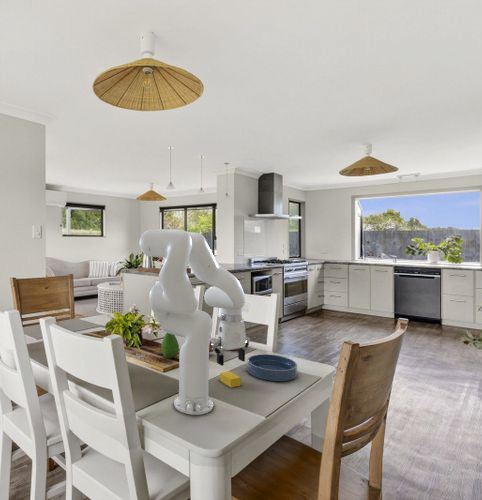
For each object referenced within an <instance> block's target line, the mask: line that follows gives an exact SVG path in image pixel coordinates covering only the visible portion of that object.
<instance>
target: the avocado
mask: <svg viewBox="0 0 482 500" xmlns="http://www.w3.org/2000/svg"><path fill="white" fill-rule="evenodd" d="M160 350H161V353H162V355H163V357H164V358H165V359H169V360H171V359H173V358H175V357H176V356H177V355H178V353H179V352H180V344H179V342H178V339H177V336H176V335H172V334H169V333H167V332H165V334H164V336H163V340H162V342H161V349H160Z"/></svg>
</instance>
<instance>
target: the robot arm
mask: <svg viewBox="0 0 482 500" xmlns="http://www.w3.org/2000/svg"><path fill="white" fill-rule="evenodd" d="M138 242H139V248H140V250H141V251H140V252H142V253H143V254H144V255H145V256H147V257H148V258H149V257H150V258H164V259H165V260H164V261H163V265H162V267H161V268H160V269H159V274H158V281H159V282H156V283H155V284H153V285H152V287H151V288H150V291H149V294H148V295H149V296H148V301H149V306H150V308H151V310H152V313H153V315H154V316H155V318H156V320H157V322H158V324H159V325H160V327H161V329H162V330H163V331H164V332H165V333H169V334H172V335H175V337H180V338H181V337H182V338H184V339H185V341H184V342H183V344H182V345H181V347H180V348H179V352H178V353H179V355H178V357H179V358H178V359H179V362H178V364H179V365H178V374H179V375H178V396H177V397H176V398H175V399H174V402H173V406H174V408H175V409H176V410H177V411H178V412H179V413H182V414H185V415H191V416H199V415H200V416H201V415H204V414H208V413H210V412H211V411H213V409H214V402H213V400H212V399H210V398H209V383H210V382H209V381H210V380H209V379H210V377H209V376H210V375H209V374H210V373H209V372H210V370H209V369H210V366H209V365H210V352H209V343H210V341H211V337H212V336H211V335H212V330H213V326H214V325H213V318H212V317H211V315H210V314H209V313H208V312H207V311H204V310H201V309H198V307H199V306H198V305H199V300H198V297H197V294H196V291H195V290H194V289H195V288H194V287H193V285H192V281H191V279H190V278H189V275H188V271H187V269H188V268H187V267H188V265H189V267H190V269H191V271H192V273H193V275H194V276H195V277H196V278H197V280H199V281H200V282H203V283H205V284H207V285H210V287H208V288H207V289H206V290H205V291H204V295H203V299H204V302H205V304H206V305H208V306H209V307H211V308H217V309H220V316H218V319H219V320H220V321H219V323H220V324H219V323H218V329H217V330H218V331H217V338H216V339H215V340H213V341H211V342H212V343H211V346H212V350H213V352H215V354H216V364H218V365H219V366H221V367H223V366H224V364H225V363H224V362H225V361H224V359H225V356H224V352H225V351H233V350H232V349H238V348H240V349H238V350H237V359H238V360H239V361H241V362H246V360H245V359H246V351H247V348H249V345H250V342H251V337H249V336H247V335H246V332H245V331H246V328H245V327H246V326H245V327H244V323H245V322H244V321H242V318H243V315H242V309H243V307H244V306H245V302H246V296H245V295H246V294H245V292H244V289H243V286H242V285H241V283H240V281H239V280H238V278H237V277H236V276H235V275H234V274H232V272H229V271H228V270H227V269H226V268H225V267H223V266H221V265H220V264H219V263H218V262H217V259H216V258H215V256H214V254H213V252H212V250H211V248H210V245H209V243H208V241H207V239H206V237H205V236H204V235H203V234H201V233H200V232H195V231H186V230H184V229H180V228H179V229H178V228H165V229H164V228H162V229H161V228H159V229H158V228H157V229H156V228H154V229H153V228H152V229H151V228H150V229H147V230H145V231H144V232H143V233H142V234H141V236H140V238H139V241H138Z"/></svg>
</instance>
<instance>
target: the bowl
mask: <svg viewBox="0 0 482 500" xmlns="http://www.w3.org/2000/svg"><path fill="white" fill-rule="evenodd" d="M246 370H247V372H248V373H249V374H250V375H252V376H253V377H256V378H258V379H260V380H264V381H269V382H287V381H293V380H294V379H296V378H297V377H298V363H297V362H296V361H294V360H293V359H291V358H288V357H286V356H283V355H277V354H269V353H267V354H266V353H259V354H253V355H251V356H249V357H247V359H246Z"/></svg>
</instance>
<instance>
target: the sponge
mask: <svg viewBox="0 0 482 500" xmlns="http://www.w3.org/2000/svg"><path fill="white" fill-rule="evenodd" d="M219 381H220V382H221V383H223V384H224V385H226V386H228V387H229V388H234V387H241V385H242V384H241V383H242V377H241V376H239V375H238V374H235V373H234V372H232V371H229V370H228V371H223V372H220V373H219Z"/></svg>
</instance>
